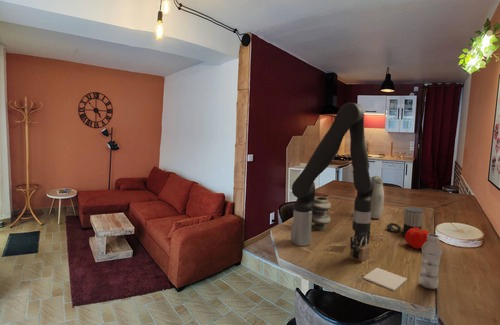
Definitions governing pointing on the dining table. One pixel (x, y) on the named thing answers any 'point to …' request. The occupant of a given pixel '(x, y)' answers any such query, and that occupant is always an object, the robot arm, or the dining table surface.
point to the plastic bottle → (430, 262)
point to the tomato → (416, 237)
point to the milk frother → (409, 220)
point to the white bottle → (377, 198)
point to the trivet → (385, 279)
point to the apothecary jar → (320, 213)
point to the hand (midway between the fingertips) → (359, 255)
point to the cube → (361, 253)
